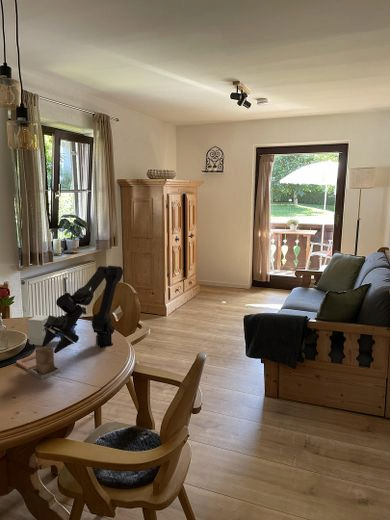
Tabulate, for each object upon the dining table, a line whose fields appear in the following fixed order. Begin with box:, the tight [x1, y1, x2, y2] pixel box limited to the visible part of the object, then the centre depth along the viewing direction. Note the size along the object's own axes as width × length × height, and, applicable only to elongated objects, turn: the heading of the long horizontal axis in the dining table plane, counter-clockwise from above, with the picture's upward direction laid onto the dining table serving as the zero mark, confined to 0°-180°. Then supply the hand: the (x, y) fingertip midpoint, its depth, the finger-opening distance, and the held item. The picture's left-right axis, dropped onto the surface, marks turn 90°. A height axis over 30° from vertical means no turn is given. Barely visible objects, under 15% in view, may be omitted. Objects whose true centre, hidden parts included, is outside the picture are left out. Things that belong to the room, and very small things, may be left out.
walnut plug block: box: [34, 345, 55, 375], centre depth 158 cm, size 5×5×10 cm
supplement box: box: [27, 314, 49, 346], centre depth 189 cm, size 7×7×13 cm
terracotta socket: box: [16, 354, 36, 372], centre depth 167 cm, size 10×10×1 cm
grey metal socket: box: [29, 364, 62, 380], centre depth 159 cm, size 9×9×1 cm
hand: (48, 349), depth 159 cm, fingers open, 9 cm apart
